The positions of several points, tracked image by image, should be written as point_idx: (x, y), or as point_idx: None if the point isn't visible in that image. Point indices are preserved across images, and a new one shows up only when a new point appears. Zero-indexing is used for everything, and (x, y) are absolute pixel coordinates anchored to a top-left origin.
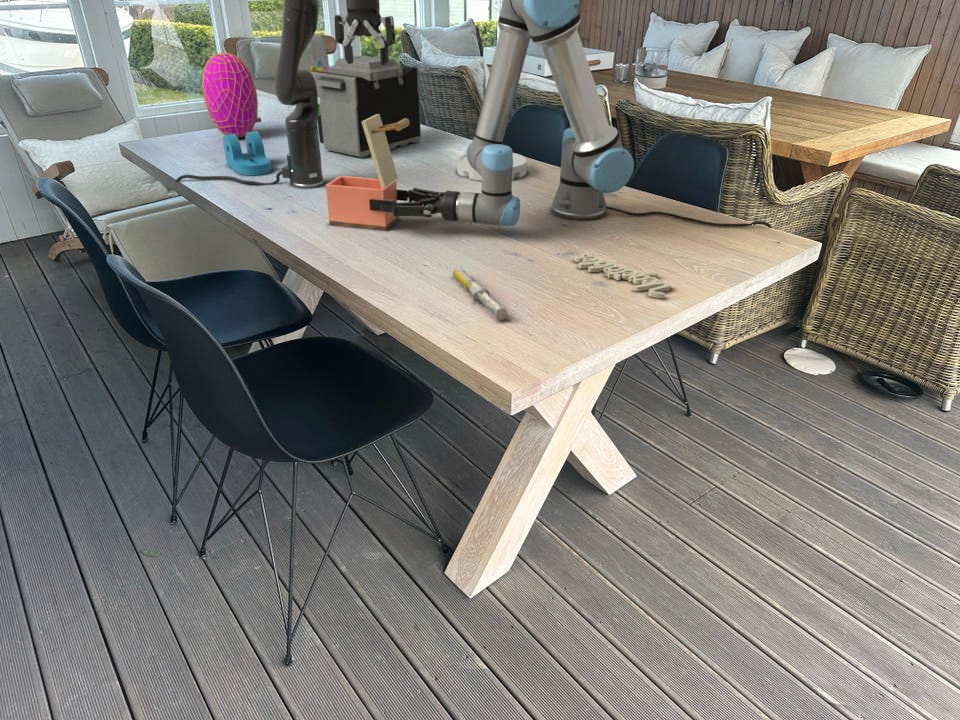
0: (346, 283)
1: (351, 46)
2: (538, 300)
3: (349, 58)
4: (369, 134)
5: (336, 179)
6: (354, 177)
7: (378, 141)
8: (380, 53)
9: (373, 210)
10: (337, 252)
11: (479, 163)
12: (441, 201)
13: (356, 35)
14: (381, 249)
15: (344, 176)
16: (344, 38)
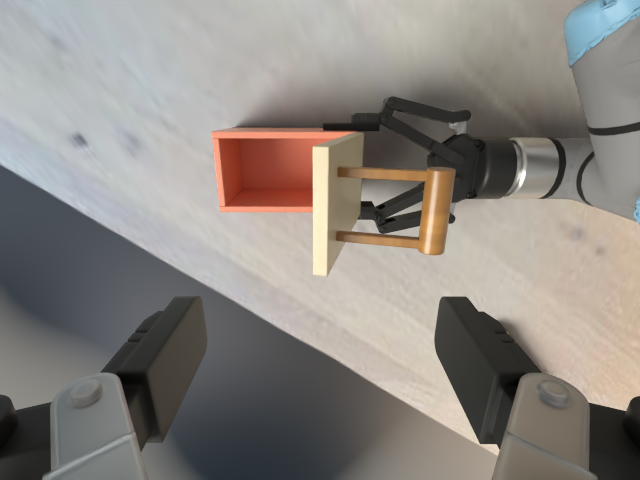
0: (363, 372)
1: (151, 389)
2: (597, 358)
3: (195, 369)
4: (336, 258)
5: (219, 165)
6: (251, 136)
7: (343, 204)
8: (466, 405)
9: None
10: (310, 294)
11: (618, 174)
12: (469, 174)
13: (142, 461)
14: (368, 268)
15: (224, 135)
16: (19, 459)
